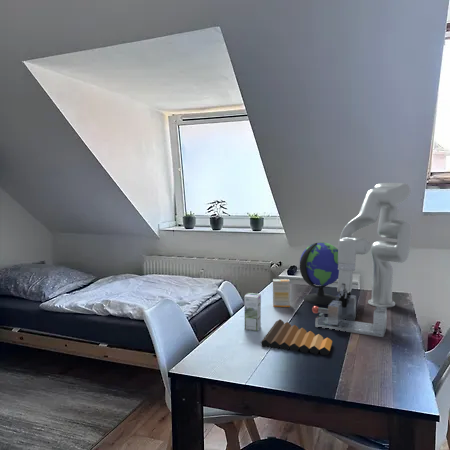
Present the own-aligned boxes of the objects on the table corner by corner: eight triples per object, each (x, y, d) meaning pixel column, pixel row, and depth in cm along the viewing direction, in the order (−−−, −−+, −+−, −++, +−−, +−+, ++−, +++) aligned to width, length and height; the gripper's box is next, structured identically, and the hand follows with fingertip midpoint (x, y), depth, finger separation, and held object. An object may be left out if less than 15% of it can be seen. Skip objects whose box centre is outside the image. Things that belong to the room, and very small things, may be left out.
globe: (338, 308, 204) (340, 246, 201) (294, 302, 214) (294, 244, 211) (346, 296, 224) (347, 240, 221) (305, 292, 234) (306, 238, 231)
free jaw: (314, 314, 188) (314, 298, 187) (341, 318, 183) (342, 301, 182) (309, 320, 180) (309, 303, 179) (337, 325, 175) (337, 307, 174)
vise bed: (321, 319, 188) (322, 299, 187) (386, 328, 176) (387, 306, 175) (315, 327, 178) (315, 305, 177) (383, 337, 166) (384, 314, 165)
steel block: (337, 314, 194) (338, 293, 193) (355, 317, 191) (356, 295, 190) (335, 318, 190) (335, 296, 189) (353, 320, 186) (354, 298, 185)
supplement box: (289, 304, 211) (289, 278, 209) (289, 307, 206) (290, 281, 205) (272, 304, 212) (272, 278, 210) (272, 307, 207) (272, 280, 206)
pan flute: (275, 326, 181) (260, 347, 158) (276, 318, 181) (260, 339, 157) (336, 333, 173) (329, 356, 149) (336, 325, 172) (329, 347, 149)
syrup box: (261, 326, 179) (261, 293, 177) (257, 331, 173) (257, 296, 172) (248, 325, 181) (248, 292, 179) (244, 330, 175) (244, 295, 174)
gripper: (341, 262, 197) (340, 299, 198) (333, 268, 182) (332, 308, 183) (358, 264, 194) (356, 301, 195) (351, 270, 178) (349, 310, 180)
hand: (344, 304), depth 189 cm, fingers open, 9 cm apart
